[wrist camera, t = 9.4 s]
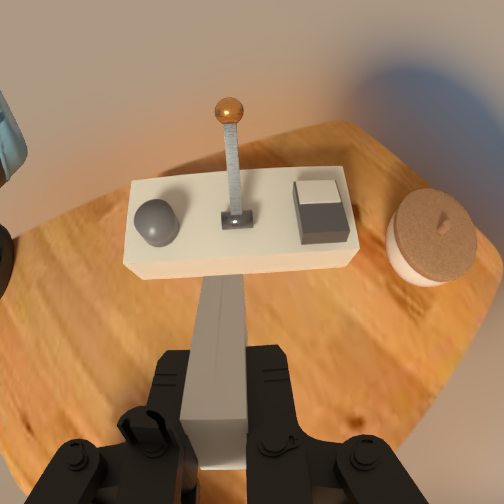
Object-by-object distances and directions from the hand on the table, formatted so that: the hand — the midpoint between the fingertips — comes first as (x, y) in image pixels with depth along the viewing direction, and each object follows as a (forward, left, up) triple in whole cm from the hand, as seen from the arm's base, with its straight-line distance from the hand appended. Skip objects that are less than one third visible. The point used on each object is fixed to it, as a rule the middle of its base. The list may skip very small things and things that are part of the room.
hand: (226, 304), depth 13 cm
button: (-14, +2, -17) cm, 22 cm away
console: (-9, +9, -23) cm, 26 cm away
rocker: (-3, +14, -15) cm, 21 cm away
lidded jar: (+9, +21, -23) cm, 32 cm away
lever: (-8, +8, -16) cm, 20 cm away
